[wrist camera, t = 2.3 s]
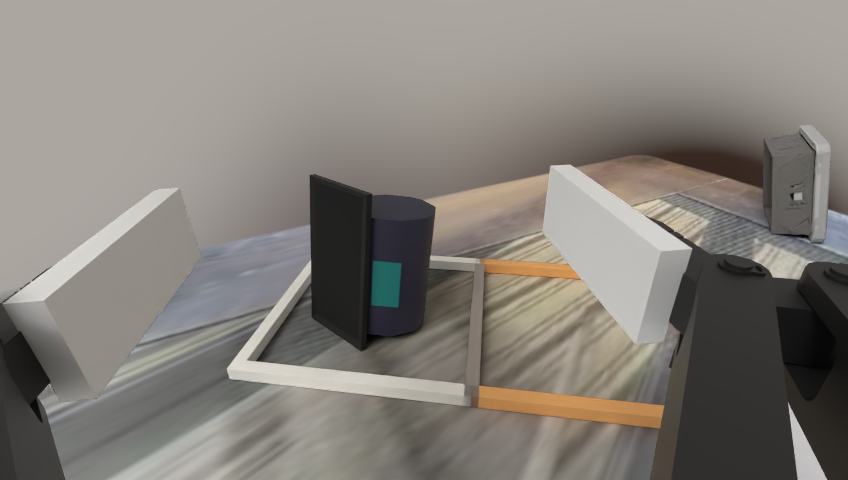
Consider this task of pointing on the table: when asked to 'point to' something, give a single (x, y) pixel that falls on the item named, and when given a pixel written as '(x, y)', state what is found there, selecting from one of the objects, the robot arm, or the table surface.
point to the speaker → (368, 260)
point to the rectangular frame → (437, 390)
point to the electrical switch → (797, 183)
